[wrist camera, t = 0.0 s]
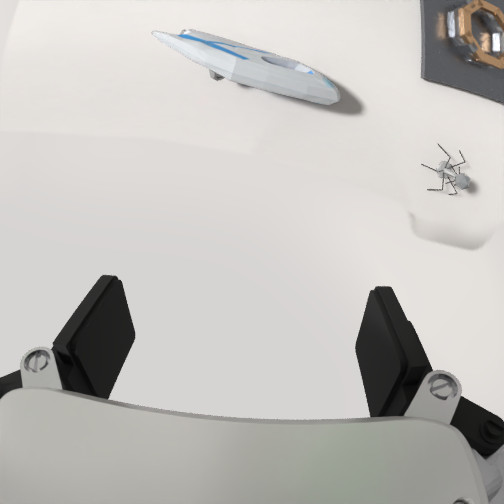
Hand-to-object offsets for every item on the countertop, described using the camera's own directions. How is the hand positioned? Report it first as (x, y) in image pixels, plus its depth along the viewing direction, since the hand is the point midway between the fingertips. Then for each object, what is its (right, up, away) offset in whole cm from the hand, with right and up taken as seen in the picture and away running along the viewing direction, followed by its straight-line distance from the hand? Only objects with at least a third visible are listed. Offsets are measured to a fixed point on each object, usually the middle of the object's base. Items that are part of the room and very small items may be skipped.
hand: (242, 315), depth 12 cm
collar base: (+31, +32, +16) cm, 47 cm away
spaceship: (+3, +27, +22) cm, 35 cm away
